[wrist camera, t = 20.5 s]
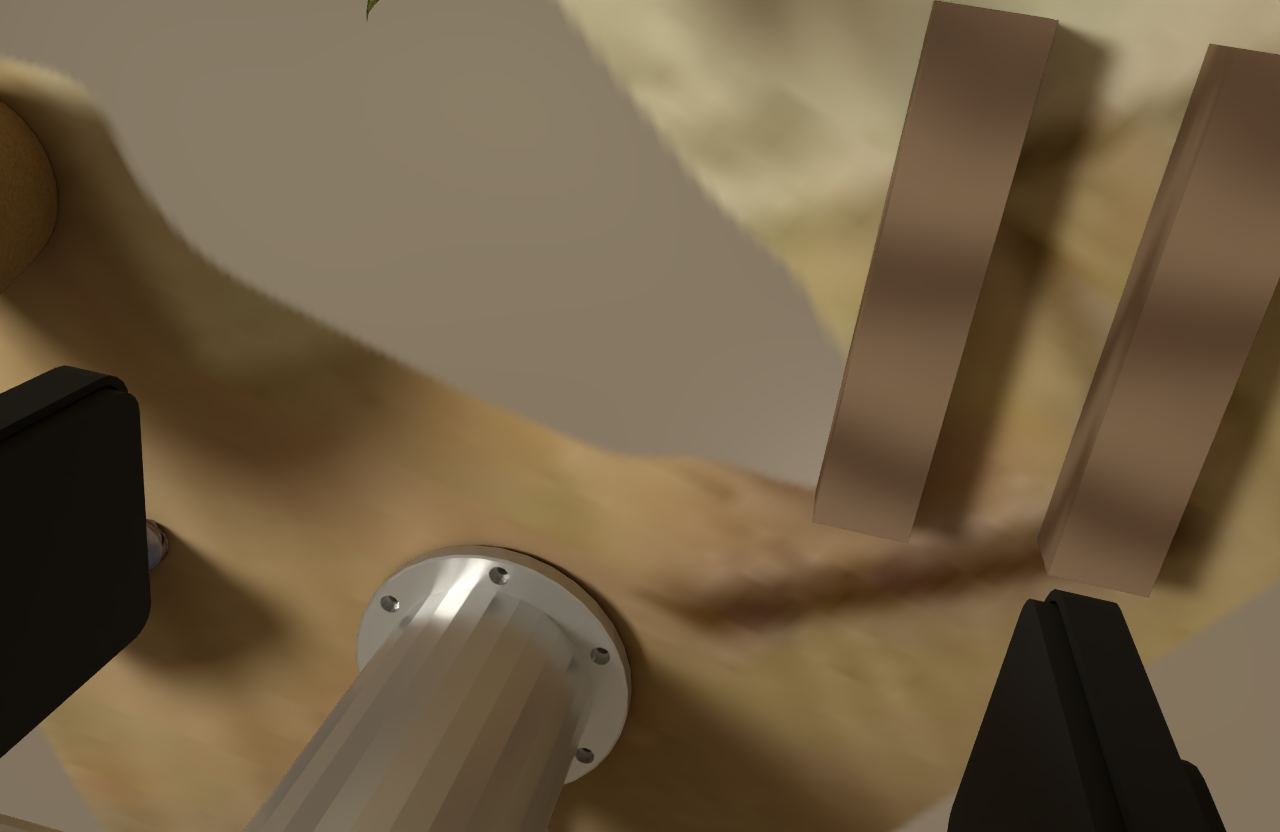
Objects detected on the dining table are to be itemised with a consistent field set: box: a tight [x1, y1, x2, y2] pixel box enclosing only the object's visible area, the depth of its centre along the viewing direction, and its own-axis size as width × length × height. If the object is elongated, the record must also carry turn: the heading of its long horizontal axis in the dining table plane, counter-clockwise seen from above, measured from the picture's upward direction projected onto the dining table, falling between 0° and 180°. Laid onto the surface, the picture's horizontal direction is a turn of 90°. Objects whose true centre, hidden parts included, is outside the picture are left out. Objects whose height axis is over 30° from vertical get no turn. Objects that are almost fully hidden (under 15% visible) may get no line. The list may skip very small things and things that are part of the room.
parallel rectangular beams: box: [813, 0, 1280, 598], centre depth 35 cm, size 18×12×3 cm, turn 172°
